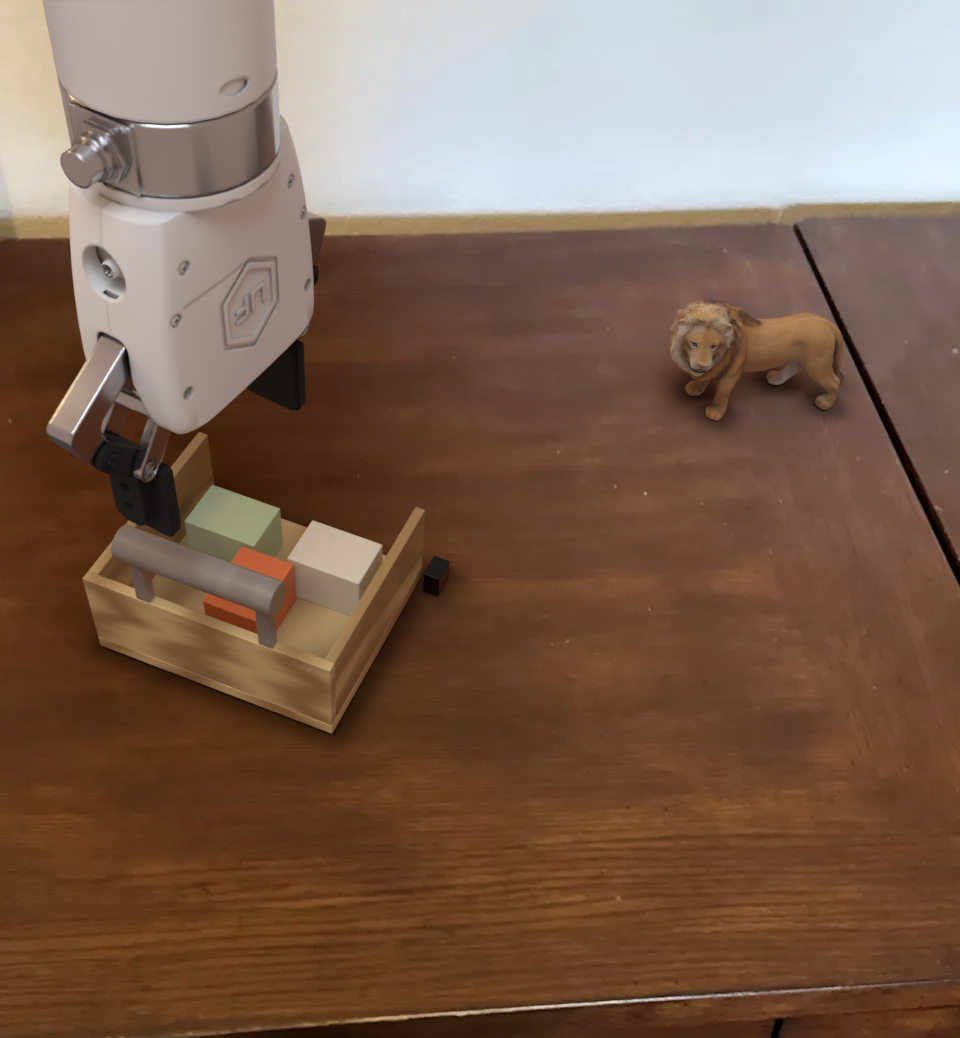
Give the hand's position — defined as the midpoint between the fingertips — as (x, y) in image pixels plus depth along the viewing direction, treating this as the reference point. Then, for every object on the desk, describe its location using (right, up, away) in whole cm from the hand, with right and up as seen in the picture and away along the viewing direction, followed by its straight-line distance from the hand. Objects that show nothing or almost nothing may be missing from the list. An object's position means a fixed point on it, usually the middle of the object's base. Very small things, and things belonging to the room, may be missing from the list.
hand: (215, 456), depth 59 cm
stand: (+2, -3, +17) cm, 17 cm away
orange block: (0, -7, +12) cm, 14 cm away
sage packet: (-2, -3, +15) cm, 15 cm away
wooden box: (0, -7, +14) cm, 15 cm away
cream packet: (+4, -6, +14) cm, 15 cm away
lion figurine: (+31, +8, +28) cm, 42 cm away
